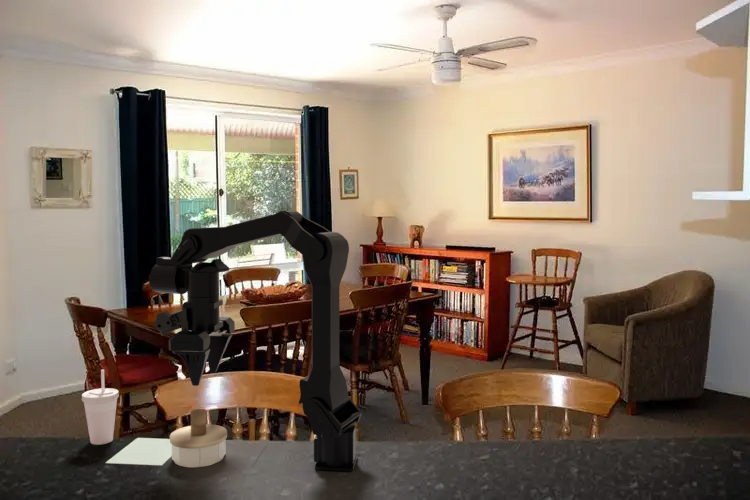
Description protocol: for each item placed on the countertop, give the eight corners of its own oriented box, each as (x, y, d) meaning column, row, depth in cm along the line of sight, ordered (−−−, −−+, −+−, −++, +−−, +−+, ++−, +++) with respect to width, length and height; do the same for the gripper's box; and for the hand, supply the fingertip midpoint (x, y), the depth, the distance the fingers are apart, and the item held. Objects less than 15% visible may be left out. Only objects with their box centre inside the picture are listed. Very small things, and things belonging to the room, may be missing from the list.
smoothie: (111, 450, 119) (109, 374, 118) (76, 449, 119) (74, 374, 118) (125, 437, 125) (123, 365, 124) (92, 437, 125) (90, 365, 124)
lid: (234, 429, 118) (234, 403, 117) (216, 449, 108) (215, 421, 108) (183, 427, 119) (182, 401, 118) (160, 447, 109) (159, 419, 109)
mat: (188, 442, 122) (188, 439, 122) (161, 468, 110) (161, 465, 110) (137, 440, 123) (137, 437, 123) (105, 466, 111) (105, 462, 111)
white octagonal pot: (230, 452, 118) (230, 430, 117) (214, 471, 109) (214, 447, 109) (185, 450, 118) (184, 429, 118) (165, 469, 110) (165, 446, 110)
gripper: (180, 288, 131) (182, 365, 132) (138, 302, 112) (140, 391, 113) (235, 289, 130) (236, 366, 131) (201, 303, 111) (203, 393, 112)
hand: (204, 378), depth 122 cm, fingers open, 9 cm apart
